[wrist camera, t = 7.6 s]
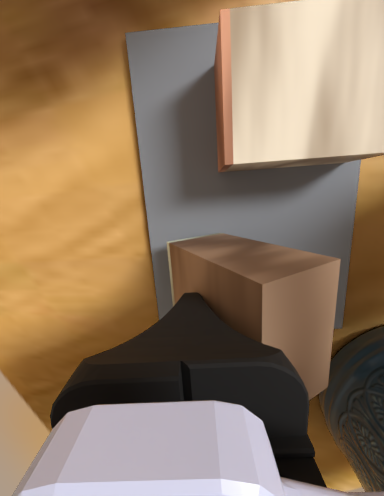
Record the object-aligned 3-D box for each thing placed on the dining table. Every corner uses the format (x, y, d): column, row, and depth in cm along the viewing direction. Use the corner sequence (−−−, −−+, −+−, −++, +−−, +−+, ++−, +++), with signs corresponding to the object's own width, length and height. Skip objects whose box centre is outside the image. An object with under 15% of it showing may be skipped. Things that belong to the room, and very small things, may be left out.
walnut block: (220, 232, 15) (340, 258, 8) (223, 309, 17) (327, 387, 10) (166, 242, 14) (262, 284, 7) (175, 327, 15) (261, 435, 8)
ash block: (213, 64, 13) (355, 50, 12) (218, 172, 14) (344, 162, 14) (220, 9, 9) (425, -14, 9) (225, 164, 10) (400, 151, 10)
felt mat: (372, 11, 12) (378, 5, 12) (338, 325, 17) (342, 328, 17) (127, 37, 13) (125, 32, 13) (161, 332, 18) (161, 335, 17)
